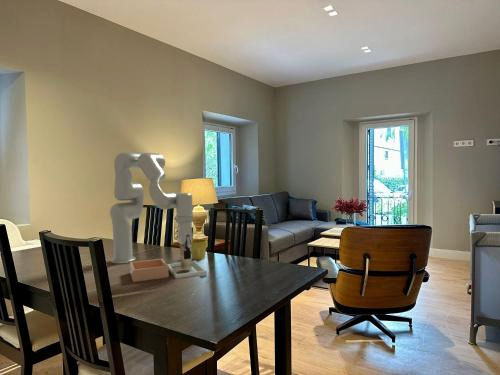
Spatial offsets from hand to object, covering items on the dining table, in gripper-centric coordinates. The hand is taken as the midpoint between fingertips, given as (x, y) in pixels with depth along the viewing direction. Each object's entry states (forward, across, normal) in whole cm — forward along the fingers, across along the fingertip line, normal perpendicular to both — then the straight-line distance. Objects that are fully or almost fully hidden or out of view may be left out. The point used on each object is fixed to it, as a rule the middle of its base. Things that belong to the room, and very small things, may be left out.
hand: (186, 257), depth 163 cm
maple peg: (+5, 0, 0) cm, 5 cm away
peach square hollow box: (+7, -1, -17) cm, 19 cm away
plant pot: (+8, -24, +12) cm, 28 cm away
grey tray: (+7, 0, 0) cm, 7 cm away
